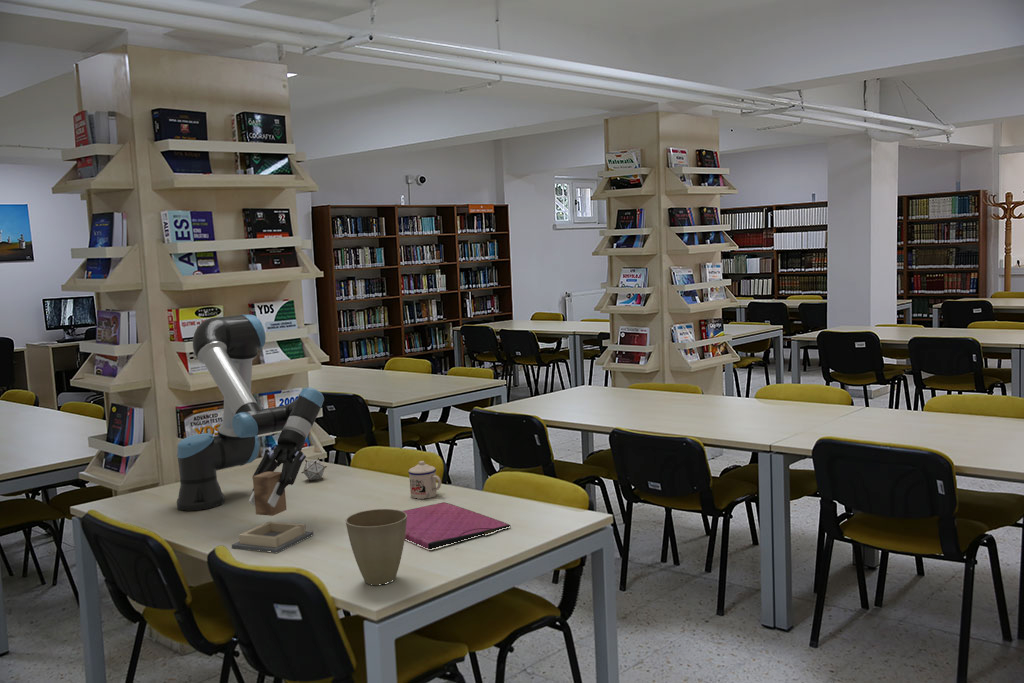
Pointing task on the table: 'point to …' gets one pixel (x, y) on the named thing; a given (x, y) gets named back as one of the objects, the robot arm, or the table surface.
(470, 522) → the laptop bag
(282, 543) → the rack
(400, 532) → the plant pot
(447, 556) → the table surface
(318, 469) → the game die
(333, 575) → the table surface
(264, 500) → the walnut block
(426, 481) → the teacup with lid
